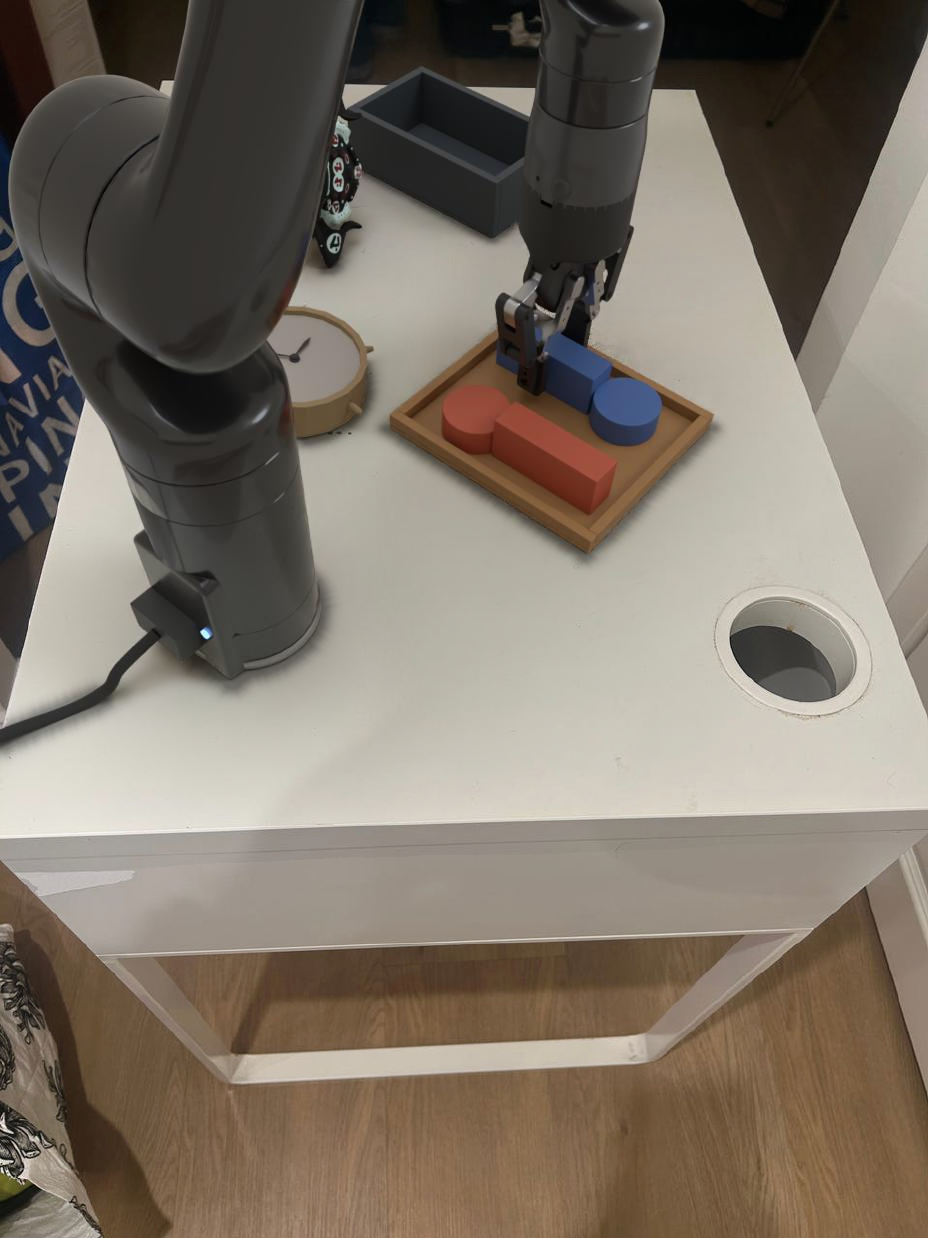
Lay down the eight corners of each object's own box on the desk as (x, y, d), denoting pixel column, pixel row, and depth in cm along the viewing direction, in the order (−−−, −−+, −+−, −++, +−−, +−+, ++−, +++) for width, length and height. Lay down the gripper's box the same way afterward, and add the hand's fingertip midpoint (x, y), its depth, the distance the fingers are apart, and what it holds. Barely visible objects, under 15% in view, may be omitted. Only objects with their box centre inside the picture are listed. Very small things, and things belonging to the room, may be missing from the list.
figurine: (196, 260, 85) (322, 280, 79) (181, 62, 78) (318, 69, 72) (273, 247, 93) (392, 265, 87) (265, 67, 86) (395, 74, 80)
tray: (587, 554, 68) (590, 541, 67) (389, 427, 74) (389, 414, 73) (709, 427, 76) (714, 413, 75) (520, 321, 82) (522, 308, 81)
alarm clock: (362, 417, 71) (152, 374, 69) (354, 463, 75) (154, 423, 73) (379, 317, 77) (187, 274, 75) (370, 363, 81) (188, 324, 79)
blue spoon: (524, 338, 80) (528, 302, 77) (668, 419, 76) (679, 384, 73) (485, 371, 78) (488, 334, 75) (631, 456, 73) (641, 422, 70)
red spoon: (578, 526, 69) (585, 492, 66) (427, 431, 74) (428, 396, 71) (619, 485, 72) (628, 450, 69) (470, 395, 76) (472, 359, 73)
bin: (492, 238, 88) (496, 183, 84) (349, 163, 94) (346, 107, 90) (560, 188, 93) (568, 134, 89) (421, 120, 99) (421, 65, 94)
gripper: (597, 103, 67) (565, 307, 81) (466, 192, 61) (456, 396, 75) (689, 145, 65) (640, 347, 79) (563, 242, 58) (534, 444, 72)
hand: (551, 370), depth 77 cm, fingers open, 5 cm apart
